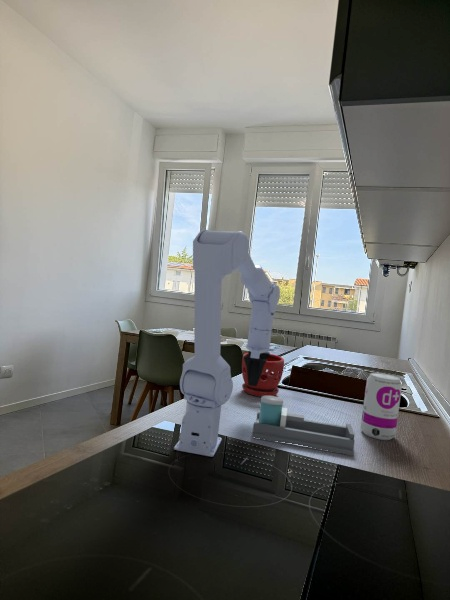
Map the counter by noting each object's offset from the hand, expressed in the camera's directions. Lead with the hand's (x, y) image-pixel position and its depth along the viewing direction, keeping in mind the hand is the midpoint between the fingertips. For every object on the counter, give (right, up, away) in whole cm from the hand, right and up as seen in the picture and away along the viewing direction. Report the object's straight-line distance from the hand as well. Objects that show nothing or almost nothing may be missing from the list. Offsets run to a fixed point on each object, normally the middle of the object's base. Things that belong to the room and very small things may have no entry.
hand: (254, 382), depth 107 cm
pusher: (+8, -9, -9) cm, 15 cm away
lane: (+9, -11, -9) cm, 17 cm away
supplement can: (+31, -13, -1) cm, 34 cm away
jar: (+3, -9, -8) cm, 13 cm away
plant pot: (+3, -9, +26) cm, 28 cm away
